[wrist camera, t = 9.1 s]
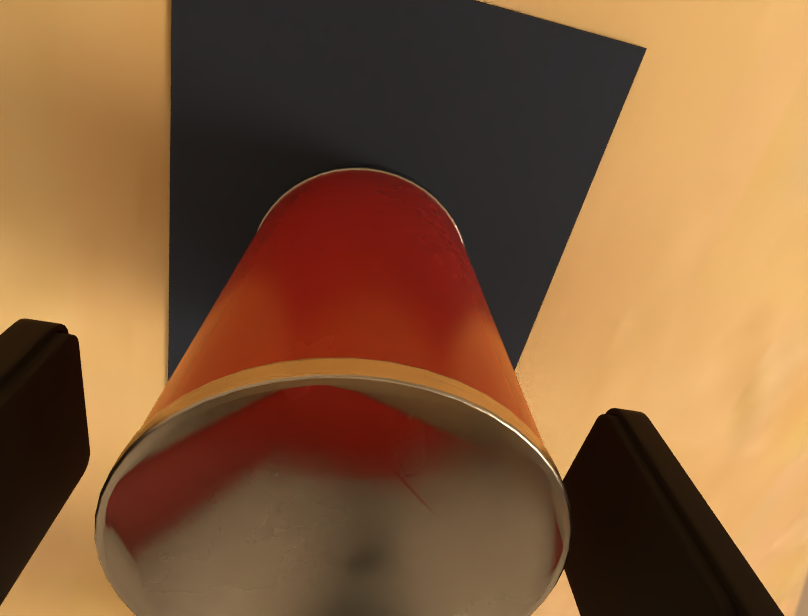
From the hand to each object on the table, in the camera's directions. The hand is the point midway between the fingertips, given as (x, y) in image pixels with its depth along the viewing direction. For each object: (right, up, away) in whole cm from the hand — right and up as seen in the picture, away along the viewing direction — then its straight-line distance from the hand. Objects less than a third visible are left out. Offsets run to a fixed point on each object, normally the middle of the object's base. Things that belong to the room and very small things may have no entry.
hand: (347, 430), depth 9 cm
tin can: (0, +3, +7) cm, 8 cm away
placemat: (0, +3, +7) cm, 8 cm away
